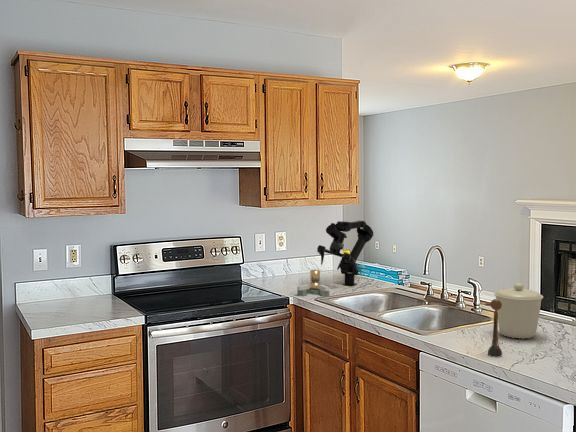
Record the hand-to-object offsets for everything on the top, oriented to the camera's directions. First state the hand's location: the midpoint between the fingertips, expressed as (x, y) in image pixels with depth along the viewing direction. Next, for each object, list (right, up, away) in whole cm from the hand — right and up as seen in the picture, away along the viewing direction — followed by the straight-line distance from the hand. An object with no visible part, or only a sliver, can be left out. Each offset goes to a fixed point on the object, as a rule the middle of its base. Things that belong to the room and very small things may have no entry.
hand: (329, 267), depth 334 cm
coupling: (-8, -13, -6) cm, 17 cm away
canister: (+68, -19, -94) cm, 118 cm away
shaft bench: (-8, -13, -12) cm, 20 cm away
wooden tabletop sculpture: (+50, -21, -120) cm, 131 cm away
